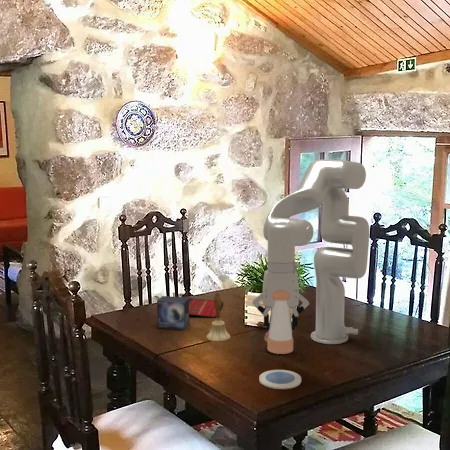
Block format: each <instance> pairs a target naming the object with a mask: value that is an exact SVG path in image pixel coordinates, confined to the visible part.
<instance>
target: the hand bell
mask: <svg viewBox="0 0 450 450" xmlns="http://www.w3.org/2000/svg"><path fill="white" fill-rule="evenodd" d="M213 301H214V306H215V310H216V318H215V320H214V321H212V322H211V326H210V331H209V333H207V335H206V336H205V338H206V339H207V340H208V341H210V342H211V341H212V342H225V341H226V342H227V341H228V340H230V339H231V334H230V333H228V331H227V329H226V323H225V321H223V320H222V318H221V309H222V307H221V301H222V298H221V294H220V292H219V291H218V292H215V295H214V298H213Z"/></svg>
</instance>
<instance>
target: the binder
mask: <svg viewBox="0 0 450 450" xmlns="http://www.w3.org/2000/svg"><path fill="white" fill-rule="evenodd" d="M188 298H189V319H194V318H195V319H216V310H215V306H214V299H213V300H210V299H203V298H193V297H191V298H190V297H188ZM223 305H224V301H222V300H221V308H222V307H223Z"/></svg>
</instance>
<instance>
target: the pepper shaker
mask: <svg viewBox="0 0 450 450" xmlns="http://www.w3.org/2000/svg"><path fill="white" fill-rule="evenodd" d="M271 296H272V298H273V299H274V300H276V301H275V305H274V307H273V308H272V307H271V308H270V314H269V330H268V331H269V336H268V340H267V342H266V343H267V346H266V347H267V351H268V352H270V353H273V354H276V355H279V354H281V355H286V354H291V353H292V352H293V351H294V337H293V330H292V313H291V308H289V307H288V306H287V301H286V300H288V299H290V297H291V295H290V293H289V292H288V291H284V290H278V291H274V292H273V293H272V295H271Z"/></svg>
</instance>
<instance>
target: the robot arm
mask: <svg viewBox="0 0 450 450" xmlns="http://www.w3.org/2000/svg"><path fill="white" fill-rule="evenodd" d="M366 178H367V173H366V168H365V167H364V165H363V164H362V163H361V162H357V161H351V160H346V159H345V160H343V159H316V160H313V161H311V162H310V163H309V164H308V166H307V167H306V170H305V172H304V174H303V176H302V178H301V181H300V183H299V185H298V187H297V189H296V190H295V191H293V192H292V193H289V194H288V195H286V196H284V197H283V198H282V199H280V200H278V201H277V202H276V203H275V204H274V205H273V206H272V208H271V209H270V211H269V212H268V215H267V217H266V218H265V222H264V225H263V231H262V233H263V237H264V239H265V240H266V241H267V269H266V270H264V274H263V282H262V292H261V293H260V294H258V295H257V296H256V297H255V298H254V299H253V300H252V305H253V306H254V307H255V308H256V309H257V310H258V311H259V312H260V313H261V315H262V316H263V327H265V328H266V331H269V321H270V314H269V313H270V311H271V307H272V308H273V307H274V305H275V301H276V300H274V299H273V298H272V296H271V295H272V293H273V292H274V291H278V290H284V291H288V292H289V293H290V295H291V297H290V299H288V300H286V301H287V306H288V307H289V308H290V310H291V312H292V313H291V320H292V331H296V327H298V317H299V316H300V314H301V313H302V312H304V311H305V309H306V308H307V307H308V306H309V305H310V301H309V300H308V299H307V298H305V297H304V296H303V295H302V294H301V293H300V287H299V286H300V285H299V275H298V271H297V270H296V269H300V267H301V263H300V262H296V261H295V260H296V258H295V256H296V247H302V246H306V245H308V244H309V243H310V242H311V241H312V239H313V238H314V227H313V225H312V223H311V222H310V221H308V220H306V219H300V218H291V217H293V216H296V215H300V214H303V213H304V214H305V213H307V212H310V211H313V210H315V209H318V208H319V207H321V205H322V209H321V210H322V212H321V221H320V222H321V225H320V226H321V227H320V236H321V239H322V240H323V241H324V242H327V243H331V244H340V245H349V246H351V248H344V247H336V246H335V247H334V246H323V247H321V248H318V249H317V250H316V251H315V253H314V256H313V265H314V272H315V281H316V283H315V284H316V285H315V286H316V287H315V294H316V295H315V330H314V331H312V332H311V333H310V338H311V340H313V341H314V342H316V343H319V344H324V345H340V344H343V343H346V342H347V341H348V340H349V335H359V329H358V328H354V326H353V327H351V326H350V327H349V326H348V327H347V326H345V297H346V296H345V295H346V294H345V293H346V290H345V285H344V283H343V281H342V280H341V278H346V279H355V280H358V279H362V278H364V276H365V274H366V273H367V268H368V258H369V246H370V225H369V222H368V220H367V219H366V218H364V217H362V216H357V215H356V216H355V215H349V204H350V203H349V202H350V201H349V198H348V196H347V194H346V192H345V191H344V189H347V190H349V189H350V190H359V189H360V188H362V187H363V186H364V184H365V182H366ZM261 301H262V304H263V305H261V304H260V302H261ZM300 302H301V303H302V304H301V305H300V306H299V304H300ZM263 306H264V307H263Z"/></svg>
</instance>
